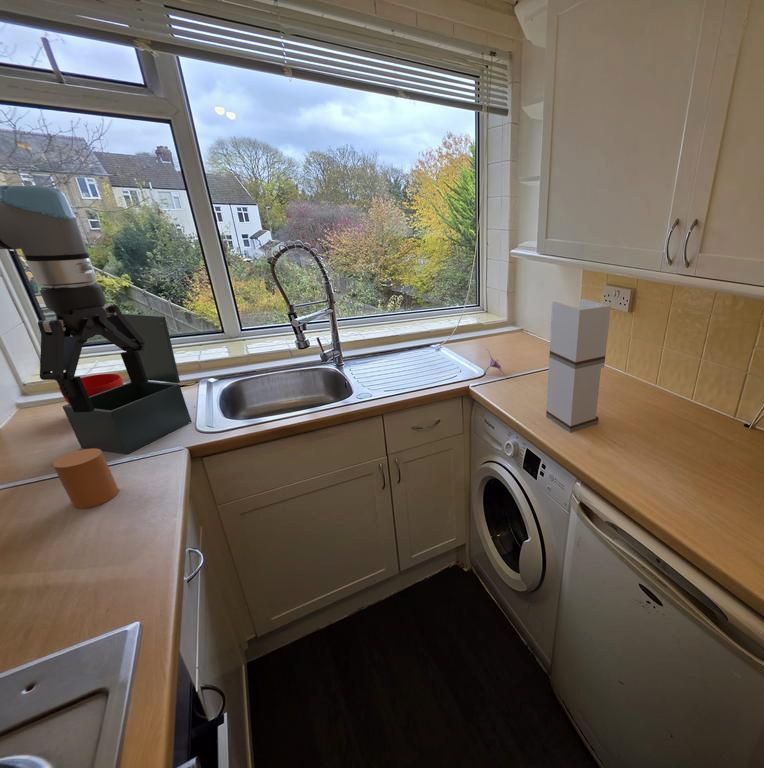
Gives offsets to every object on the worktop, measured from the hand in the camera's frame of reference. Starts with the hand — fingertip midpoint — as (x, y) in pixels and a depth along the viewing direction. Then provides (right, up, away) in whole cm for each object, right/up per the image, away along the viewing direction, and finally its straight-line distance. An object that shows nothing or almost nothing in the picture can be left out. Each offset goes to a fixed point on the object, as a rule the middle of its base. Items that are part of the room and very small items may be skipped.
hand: (114, 395), depth 79 cm
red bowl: (-45, -7, +41) cm, 61 cm away
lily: (+71, +6, +77) cm, 105 cm away
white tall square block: (+95, -9, +43) cm, 105 cm away
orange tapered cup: (-11, -22, +7) cm, 25 cm away
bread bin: (-24, -11, +32) cm, 41 cm away
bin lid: (-22, +12, +32) cm, 40 cm away
